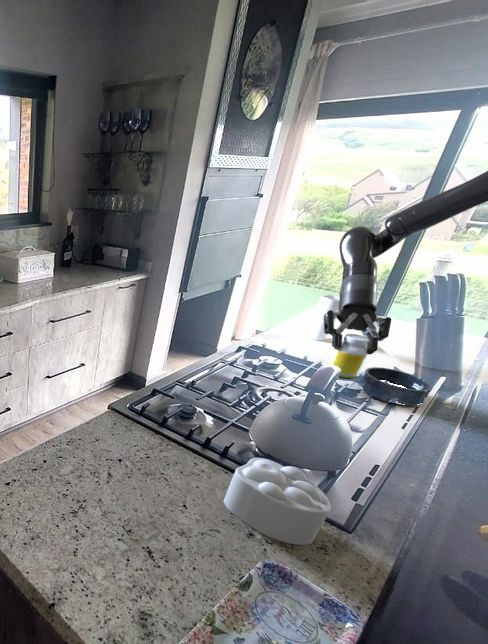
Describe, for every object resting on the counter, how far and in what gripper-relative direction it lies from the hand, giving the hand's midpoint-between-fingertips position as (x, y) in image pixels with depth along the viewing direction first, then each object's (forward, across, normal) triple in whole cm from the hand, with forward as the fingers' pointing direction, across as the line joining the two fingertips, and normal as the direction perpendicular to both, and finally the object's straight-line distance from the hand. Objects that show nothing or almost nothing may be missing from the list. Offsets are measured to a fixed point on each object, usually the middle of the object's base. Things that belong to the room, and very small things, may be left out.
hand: (354, 350), depth 105 cm
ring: (+6, +12, +10) cm, 17 cm away
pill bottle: (+5, 0, +7) cm, 9 cm away
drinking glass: (-22, +5, +39) cm, 45 cm away
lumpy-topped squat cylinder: (+51, -25, -35) cm, 66 cm away
